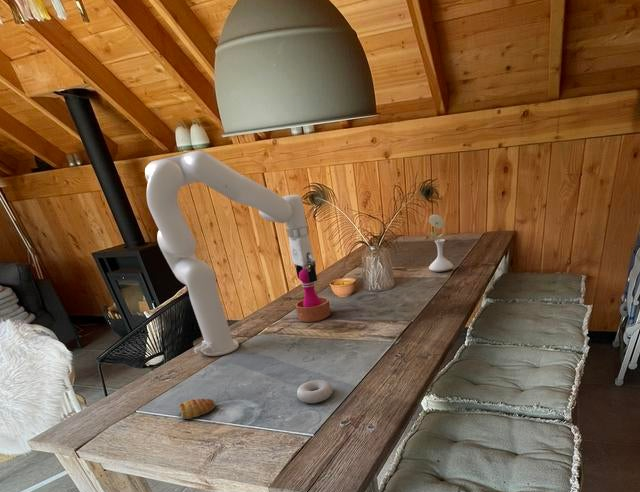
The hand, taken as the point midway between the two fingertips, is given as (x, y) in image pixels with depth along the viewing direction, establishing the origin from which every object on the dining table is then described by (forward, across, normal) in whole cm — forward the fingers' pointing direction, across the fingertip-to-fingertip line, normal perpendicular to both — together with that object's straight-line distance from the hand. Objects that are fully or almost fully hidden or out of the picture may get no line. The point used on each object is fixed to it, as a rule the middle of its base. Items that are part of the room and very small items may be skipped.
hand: (307, 279), depth 180 cm
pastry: (+15, +42, -62) cm, 77 cm away
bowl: (+15, 0, 0) cm, 15 cm away
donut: (+15, +61, -34) cm, 71 cm away
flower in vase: (+15, -6, +74) cm, 76 cm away
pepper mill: (+15, 0, 0) cm, 15 cm away
